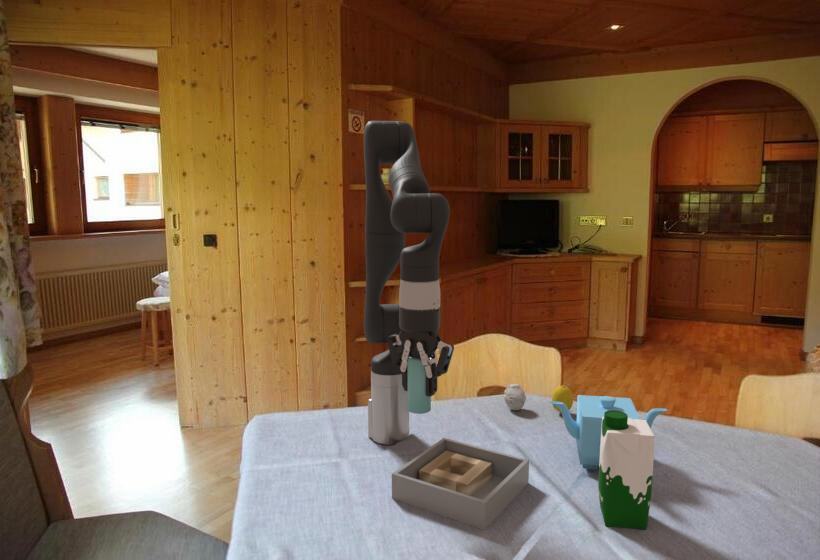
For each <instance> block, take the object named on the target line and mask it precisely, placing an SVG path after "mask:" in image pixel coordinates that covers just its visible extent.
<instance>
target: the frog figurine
mask: <svg viewBox="0 0 820 560" xmlns="http://www.w3.org/2000/svg"><path fill="white" fill-rule="evenodd" d="M503 393H504V395H503V400H504V402H505V404H506V406H507V407H508V408H509V409H510V410H512V411H519V410H521V409H523V407H524V405H525V403H526V401H527V396H526V392H525V391H524V390H523V388H522V387H521V385H520V384H518V383H511V384H508V385H507V386H506V389H505V390H504V392H503Z"/></svg>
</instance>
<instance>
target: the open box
mask: <svg viewBox="0 0 820 560" xmlns="http://www.w3.org/2000/svg"><path fill="white" fill-rule="evenodd" d="M445 451H450V452H454V453H457V454H461V455H465V456H468V457H472V458H476V459H479V460H483V461H487V462H490V463H492V477H491V478H490V479H489V480H487V481H486V482H485V483H484V484H483V485H482V486H481V487H480V488H479V489H478V490H477V491H475V492H474V493H473V494H472V495H471V496H469V495H466V494H462V493H459V492H456V491H453V490H450V489H446V488H443V487H440V486H437V485H434V484H430V483H427V482H424V481H421V480H419V470H420V469H421V468H423V467H424V466H426V465H427V464H428V463H430V462H431V461H432V460H434V459H435V458H437V457H438V456H439V455H441V454H442V453H443V452H445ZM529 468H530V459H526V458H522V457H520V456H515V455H511V454H507V453H504V452H500V451H495V450H492V449H489V448H484V447H481V446H477V445H473V444H468V443H464V442H462V441H458V440H453V439H450V438H445V437H443V438H441V439H440V440H438V441H437V442H436V443H434V444H432V445H431V446H430V447H428V448H426V450H424V451H423V452H421V453H420V454H418V455H417V456H415V457H414V458H412V459H411V460H410V461H409V460H408V462H406V463H405V464H403V465H402V466H401V467H399V468H398V469H396V470H395V471H394V472H392V473H391V499H393V500H396V501H398V502H402V503H406V504H409V505H411V506H412V507H413V506H414V507H417V508H419V509H423V510H425V511H429V512H432V513H434V514H436V515H439V516H440V515H441V516H443V517H447V518H449V519H452V520H456V521H458V522H461V523H464V524H466V525H469V526H473V527H475V528H478V529H481V530H483V531H484V530H486V529H487V528H488V527H489V526H490V525H491V524H492V523H493V522H494V521H495V520H496V519H497V518H498V516H499V515H500V514H501V513H502V512H503V511H505V509H506V508H507V507H508V506H509V505H510V504H511V503H512V502H513V501H514V500H515V498H516V497H517V496H518V495H519V494H520V493H521V492H522V491H523V490H524V488H526V487H527V485H529V480H530V479H529V475H530V473H529V472H530V469H529ZM449 473H453V474H456V475H460V476H463V474H460V473H456V472H453V471H450V472H449Z"/></svg>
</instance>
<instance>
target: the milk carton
mask: <svg viewBox="0 0 820 560" xmlns="http://www.w3.org/2000/svg"><path fill="white" fill-rule="evenodd" d="M654 457H655V434H654V432H653V431H652V429H650V427H649V425H648V424H647V422H646V420H644V419H641V418H640V419H631V418H628V415H627V414H626V413H624V412H621V411H616V410H610V411H606V412H605V413H604V417H602V427H601V442H600V461H599V466H598V483H597V484H598V487H597V488H598V499H599V507H600V510H601V516H602V518H603V522H604V525H605V527H615V528H623V529H624V528H626V529H636V530H637V529H638V530H647V528H648V520H649V514H650V507H651V501H652V490H653V489H652V488H653V473H654V459H655V458H654Z"/></svg>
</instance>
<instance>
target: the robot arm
mask: <svg viewBox="0 0 820 560" xmlns="http://www.w3.org/2000/svg"><path fill="white" fill-rule="evenodd" d="M363 159H364V176H365V178H364V179H365V224H364V226H365V227H364V232H365V233H364V245H365V247H364V250H365V295H364V297H365V298H364V309H363V310H364V313H363V316H364V317H363V331H364V332H363V333H364V337H365V340H366V341H367V343H369V344H375V345H376V344H387V346H388V349H387V350H385V351H383V352H380V353H378V354H376V355H374V356H373V357H372V358H371V361H370V390H371V391H370V392H371V393H370V395H371V396H370V397H371V398H369V399H368V400H367V429H368V430H367V432H368V436H367V437H368V438H371V439H372V440H373V442H375V443H378V444H380V445H392V446H393V445H397V444H399V443H400V442H401V441H403V440H405V439H407V438H408V437H409V436H410V412H409V411H408V377H407V361H408V358H409V357H418V358H420V359H421V361H422V365H423V366H424V367H425V370H426V374H427V377H426V396H428V397H431V398H432V397H433V396H434V395H435V394H436V393H437V391H438V377H441V376H443V375H445V374H447V373H448V370H449V367H450V365H451V360H452V357H453V354H454V350H455V346H454V344H452V343H450V344H448V343H445V342H443V341H442V339H441V336H440V332H439V331H440V328H441V300H442V299H441V287H440V256H441V255H440V254H441V252H442V251H441V250H442V245H443V241H444V237H445V233H446V231H447V228H448V225H449V220H450V215H451V211H450V210H451V209H450V203H449V201H448V200H447V198H446V197H445V196H444V195H443V194H441V193H438V192H437V193H434V192H432V193H431V189H430V188H431V187H430V186H429V182H428V181H427V179H426V176H425V174H424V172H423V170H422V169H423V168H422V166H421V165H422V164H421V160H420V153H419V148H418V142H417V138H416V132H415V131H414V127H412V124H410V123H409V122H406V121H403V120H401V121H400V120H396V121H395V120H369V121H368V122H367V123H366V124H365V126H364V131H363ZM380 165H392V166H391V168H390V171H389V174H388V184H389V189H390V191H391V194H392V197H393V198H392V197H391V196H390V194H389V193H390V192H389V191H388V189H387V188H386V186H385V183H384V180H383V178H382V174H381V168H380ZM406 234H427V235H426V237H425V239H424V240H423V241H422V242H421V243H418V244H415V245H411V246H407V247H406ZM399 264H400V283H399V290H398V293H399V294H398V296H399V298H398V303H390V304H389V303H387V304H386V303H383V304H380V301H381V297H382V293H383V291H384V288H385V285H386V284H387V282H388V280H389V279H390V277H391V276H392V274H393V273H394V271H395V270H396V268H397V266H398V265H399ZM437 349H438V355H439V356H437ZM429 357H430V360H428V358H429Z"/></svg>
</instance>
